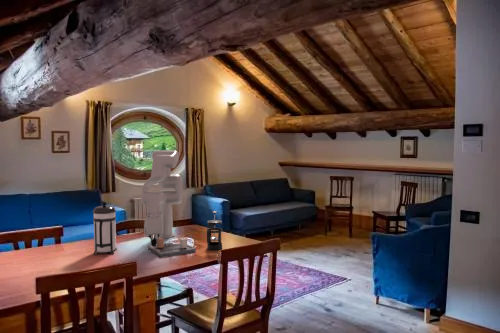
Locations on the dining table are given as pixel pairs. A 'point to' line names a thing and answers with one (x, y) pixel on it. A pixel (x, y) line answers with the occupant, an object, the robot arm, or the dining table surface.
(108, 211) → the coffee press
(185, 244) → the fader ivory
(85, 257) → the dining table surface
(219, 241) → the french press
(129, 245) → the dining table surface
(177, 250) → the console
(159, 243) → the fader terracotta
